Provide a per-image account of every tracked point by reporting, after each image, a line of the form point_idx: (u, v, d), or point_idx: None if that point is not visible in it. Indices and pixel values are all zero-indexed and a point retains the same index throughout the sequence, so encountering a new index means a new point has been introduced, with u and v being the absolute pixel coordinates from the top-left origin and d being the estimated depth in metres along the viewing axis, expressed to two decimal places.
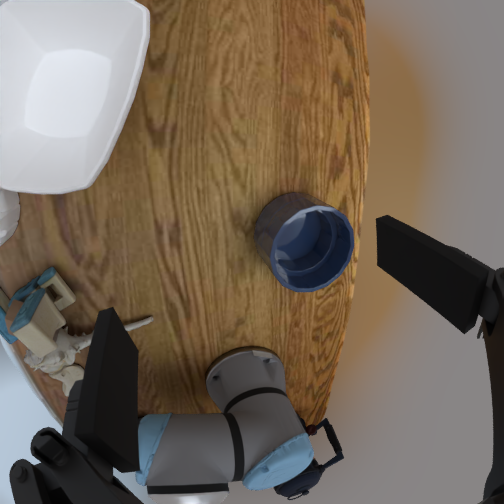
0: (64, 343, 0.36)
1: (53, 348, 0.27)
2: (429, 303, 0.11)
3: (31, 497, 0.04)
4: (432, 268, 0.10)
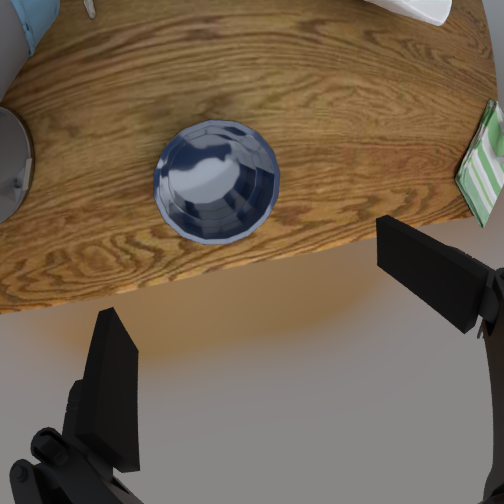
0: None
1: None
2: (429, 303, 0.11)
3: (31, 497, 0.04)
4: (432, 268, 0.10)
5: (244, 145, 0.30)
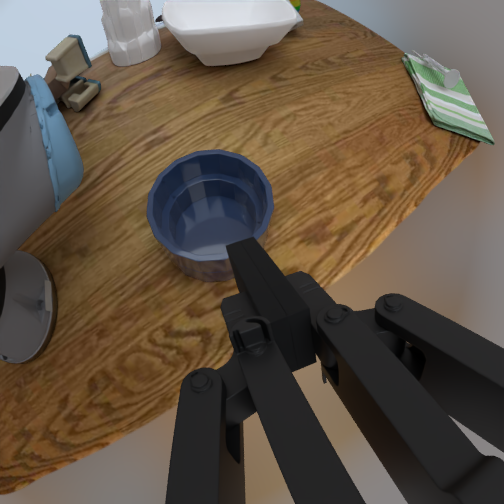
0: None
1: (55, 57, 0.29)
2: None
3: (206, 413, 0.07)
4: None
5: (224, 179, 0.33)
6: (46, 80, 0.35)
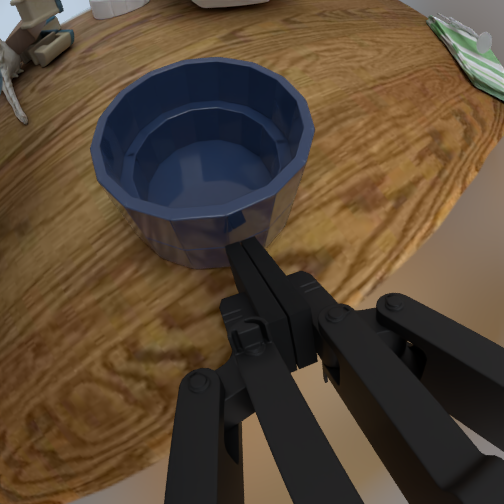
0: (8, 55, 0.23)
1: None
2: None
3: (204, 413, 0.07)
4: None
5: (226, 108, 0.19)
6: (13, 31, 0.21)
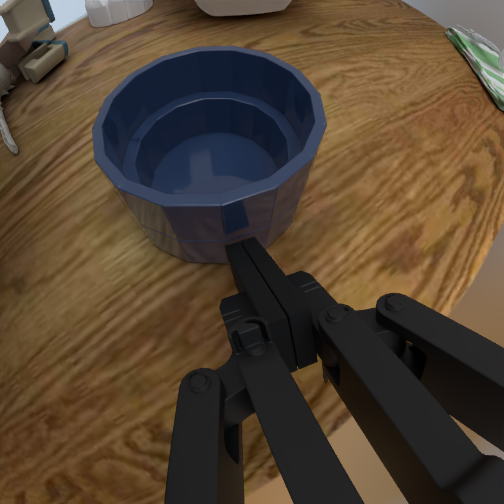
0: None
1: (4, 7, 0.13)
2: None
3: (204, 413, 0.07)
4: None
5: (238, 99, 0.19)
6: (2, 42, 0.19)
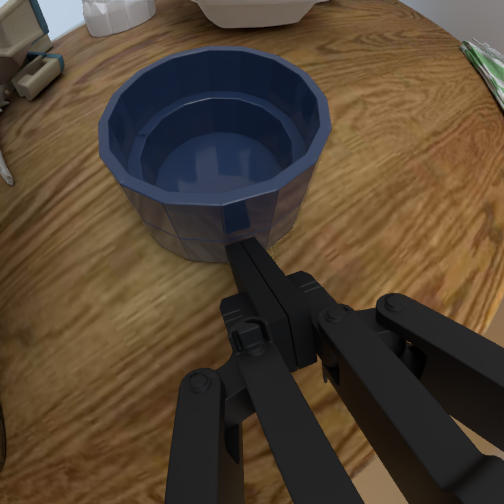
0: None
1: None
2: None
3: (205, 413, 0.07)
4: None
5: (246, 100, 0.19)
6: None
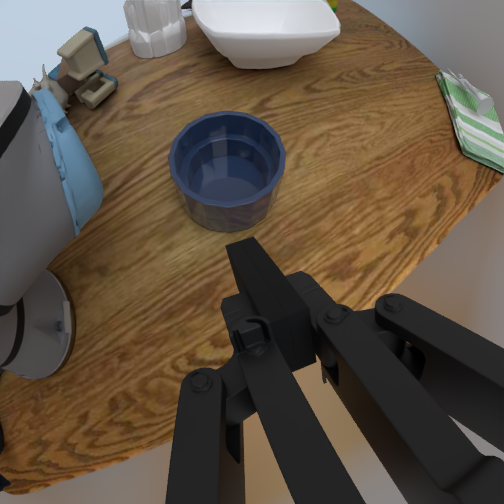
0: (58, 96, 0.34)
1: (67, 53, 0.27)
2: None
3: (206, 413, 0.07)
4: None
5: (246, 141, 0.34)
6: (63, 70, 0.33)
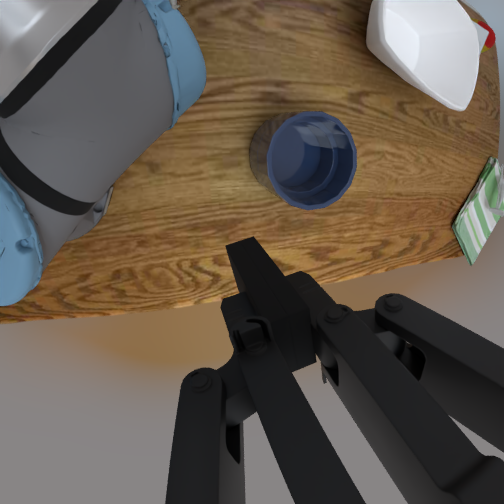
0: None
1: None
2: None
3: (205, 413, 0.07)
4: None
5: (330, 140, 0.37)
6: None
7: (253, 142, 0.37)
